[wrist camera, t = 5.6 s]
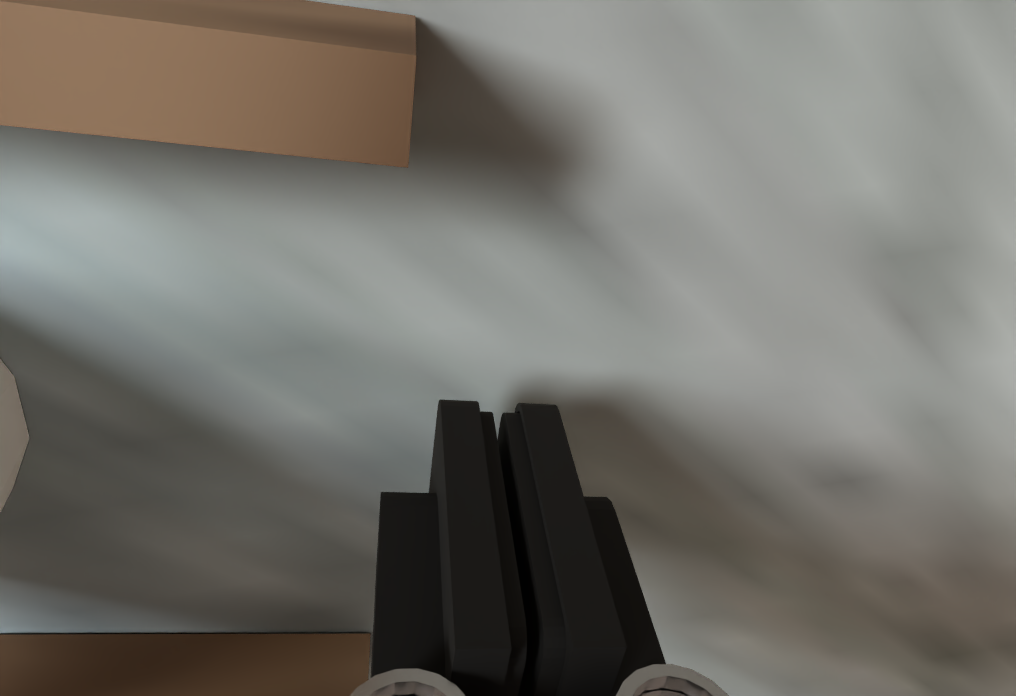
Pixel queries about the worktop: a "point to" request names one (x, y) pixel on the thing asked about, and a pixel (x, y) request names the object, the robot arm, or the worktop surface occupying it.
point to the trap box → (222, 124)
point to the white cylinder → (10, 433)
